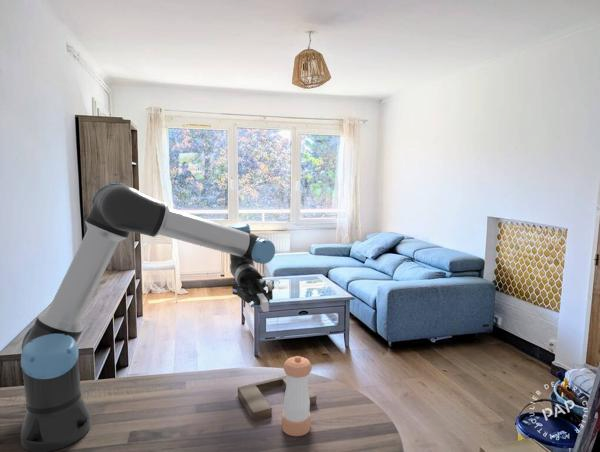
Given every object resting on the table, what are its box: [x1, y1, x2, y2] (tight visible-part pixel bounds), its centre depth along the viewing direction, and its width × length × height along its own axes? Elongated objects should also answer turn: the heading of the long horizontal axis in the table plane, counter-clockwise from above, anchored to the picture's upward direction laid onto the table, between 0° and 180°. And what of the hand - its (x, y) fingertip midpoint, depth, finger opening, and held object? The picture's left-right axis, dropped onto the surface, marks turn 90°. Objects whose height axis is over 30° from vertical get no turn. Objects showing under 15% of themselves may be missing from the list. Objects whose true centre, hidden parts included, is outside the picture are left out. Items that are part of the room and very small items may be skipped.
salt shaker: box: [281, 355, 313, 437], centre depth 106 cm, size 7×7×19 cm
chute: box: [237, 375, 317, 422], centre depth 120 cm, size 13×18×2 cm
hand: (265, 306), depth 111 cm, fingers closed
